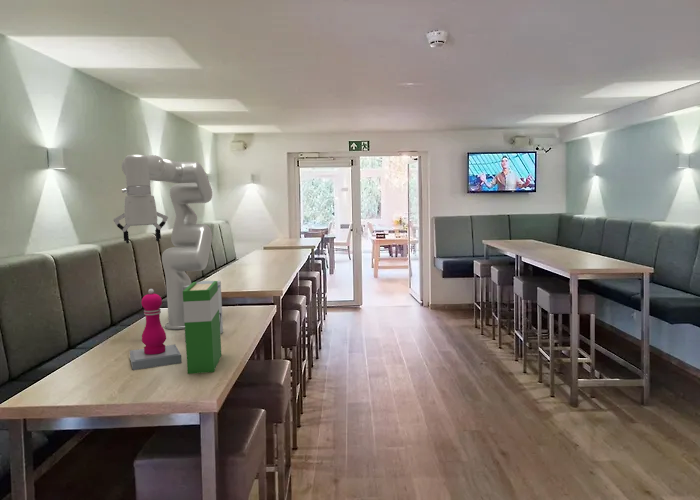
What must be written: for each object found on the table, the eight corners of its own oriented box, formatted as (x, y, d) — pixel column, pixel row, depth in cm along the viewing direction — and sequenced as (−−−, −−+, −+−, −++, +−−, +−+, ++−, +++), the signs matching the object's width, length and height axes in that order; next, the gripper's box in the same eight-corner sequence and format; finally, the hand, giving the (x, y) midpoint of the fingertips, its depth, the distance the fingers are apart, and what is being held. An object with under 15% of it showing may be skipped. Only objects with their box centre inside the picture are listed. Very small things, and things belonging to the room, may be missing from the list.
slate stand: (130, 358, 174) (129, 349, 174) (175, 351, 180) (175, 343, 180) (132, 370, 162) (132, 361, 161) (181, 362, 167) (181, 354, 167)
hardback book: (197, 356, 174) (193, 282, 172) (221, 354, 175) (217, 280, 173) (187, 373, 157) (182, 291, 154) (214, 372, 157) (209, 290, 155)
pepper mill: (139, 355, 167) (135, 291, 165) (146, 349, 174) (142, 287, 172) (163, 354, 168) (159, 290, 166) (169, 348, 175) (165, 286, 173)
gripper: (111, 192, 177) (115, 244, 179) (167, 190, 185) (170, 241, 186) (110, 192, 184) (114, 243, 186) (164, 191, 191) (167, 239, 193)
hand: (142, 242), depth 186 cm, fingers open, 9 cm apart
